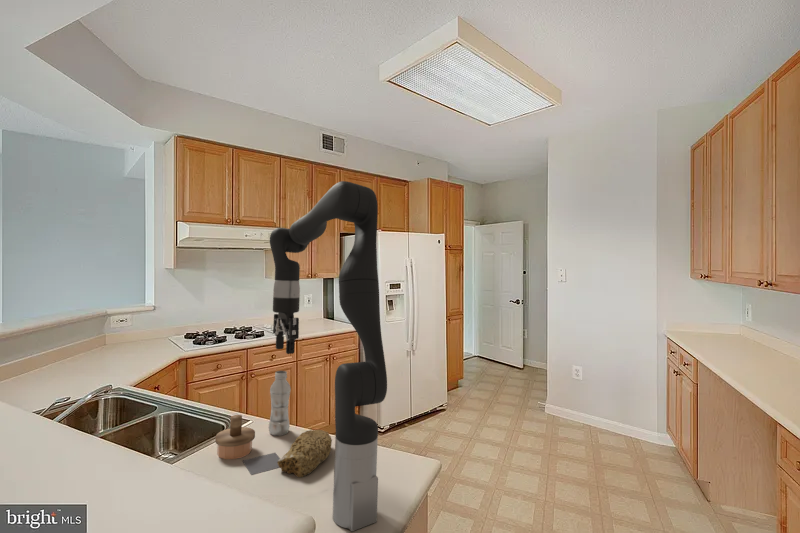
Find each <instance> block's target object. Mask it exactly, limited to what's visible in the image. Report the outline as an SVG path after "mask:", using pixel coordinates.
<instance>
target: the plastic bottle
mask: <svg viewBox="0 0 800 533" xmlns="http://www.w3.org/2000/svg"><path fill="white" fill-rule="evenodd" d="M274 374H275V375H274V381H273V382H272V384H271V385H270V389H269V394H270V395H269V396H270V405H271V406H270V407H271V408H270V409H271V410H270V418H269V422H268V431H269V432H268V433H269V434H270V435H271V436H274V437H279V436H285V435H286V434H287V435H288V432H289V431H290V419H289V404H290V401H289V400H290V395H291V385H290V383H289V382H288V380H287V378H288V373H287V371H286V370H278V371H277V370H276V371H275V373H274Z"/></svg>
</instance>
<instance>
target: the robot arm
mask: <svg viewBox="0 0 800 533" xmlns="http://www.w3.org/2000/svg"><path fill="white" fill-rule="evenodd" d="M378 207H379V206H378V199H377V195H376V193H375V191H374V190H373V189H372V188H370V187H367V186H364V185H361V184H358V183H354V182H350V181H344V180H340V181H338V182H336V183H335V184H334V185H332V187H330V188H329V189H328V190H327V191H326V193H324V194H323V196H322V197H321V198H320V199H319V200H318V201H317V203H316V204H315V205H314V206H313V207H312V208H311V210H310V211H308V212H307V213H306V214H305V215H303V216H301V217H300V218H298V219H297V220H295V221H294V222H293V223H292V224H291V225H290V227H289V228H285V227H275V228H274V229H273V230H272V231H271V233H270V236H269V245H270V249H271V253H272V258H273V262H274V283H273V292H272V293H273V295H272V296H273V297H272V298H273V299H272V312H273V313H274V314H273V324H272V325H273V327H272V332H273V334H274V336H275V349H276V350H283V349H284V348H285V353H286V354H287V355H292V354H294V353H295V348H296V347H295V346H296V344H295V342H296V340H298V339H299V338H300V337H299V336H300V335H299V334H300V331H299V330H300V328H299V327H300V322H299V321H300V320H299V319H300V318H299V317H295V315H294V314H296V313H299V311H300V301H301V300H300V299H301V298H300V296H301V294H300V292H301V286H300V273H301V272H300V271H301V268H300V267H301V266H300V263H299V262H298V261H296V260H292V259H289V257H288V256H287V254H286V253H289V254H290V253H292V254H298V253H302V252H304V251H305V250H306V249H307V247H308V246H309V245H310V244H311V243H312V242H313V241H315V240H317V239H319V238H320V237H321V236H322V235H323V234H324V233H325V232H326V229H327V226H328V221H332V220H334V219H335V220H337V219H338V220H341V221H344V222H348V223H353V225H354V243H353V246H352V249H351V251H350V252H349V254H348V256H347V258H346V259H345V261H344V262H343V265H342V267H341V269H340V271H339V274H338V293H339V296H338V297H339V305H340V308H341V310H342V312H343V313H344V315H345V317H346V318H347V319H348V321H349V322H350V324H351V325H352V327H353V329H355V333H356V334H357V335H358V337H359V339H360V341H361V344H362V348H363V351H364V352H363V353H364V361H358V362H346V363H345V362H344V363H342V364H340V365H338V367H337V368H336V371H335V378H334V402H335V403H334V406H335V407H334V421H335V422H334V425H335V438H334V439H335V440H334V442H335V444H334V466H333V467H334V468H333V489H332V490H333V494H332V495H333V496H332V497H333V498H332V503H333V504H332V520H333V522H334V524H336V525H337V526H339V527H341V528H345V529H349V531H350V532H355V531H358V530H359V529H362V528H365V527H366V526H367V527H368V526H369V525H372V524H374V523H376V522H378V498H379V495H378V493H379V477H378V476H377V472H378V471H377V469H378V468H377V466H378V464H377V463H378V442H379V441H378V440H379V438H378V437H379V426H378V423H377V422H376V421H375V420H374V419H373V418H371V417H368V416H365V415H361V414H358V413H356V407H363V406H368V405H375V404H379V403H380V404H381V403H382V402H383V401H385V398H386V396H387V392H388V377H387V376H388V375H387V367H386V361H385V352H384V346H383V345H384V344H383V338H382V336H383V335H382V328H381V310H380V309H381V308H380V286H379V284H380V283H379V273H378V272H379V271H378V254H377V253H378V252H377V238H378V234H377V233H378V232H377V231H378V214H379V212H378V210H379V208H378ZM285 339H286V342H285ZM284 343H285V344H284ZM284 345H285V346H284Z"/></svg>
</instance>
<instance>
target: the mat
mask: <svg viewBox="0 0 800 533" xmlns="http://www.w3.org/2000/svg"><path fill="white" fill-rule="evenodd" d="M279 459H281V458H280V457H279V455H278V454H277V453H276V452H272V453H267V454H264V455H259V456H254V457H251V458H247V459H246V458H245V459H242V460H241V461H242V462H243V465H244V466H245V467H246V469H247V470H248V473H249V474H250V475H251V476H254V475H257V474H261V473H265V472H268V471H271V470H275V469H276V470H277V469H280V468H279V466H278V463H277V462H278V460H279Z"/></svg>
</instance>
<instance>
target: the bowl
mask: <svg viewBox="0 0 800 533" xmlns="http://www.w3.org/2000/svg"><path fill="white" fill-rule="evenodd" d="M216 448H217V450H216V452H217V453H216V455H217V456H218V458H220V459H222V460H236V459H240V458H244V457H245V456H248V455H249V454H250V453H251V451H252V449H253V440H252V441H251V442H249V443H246V444H243V445H239V446H232V447H226V446H220V445H218V444H217V446H216Z"/></svg>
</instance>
